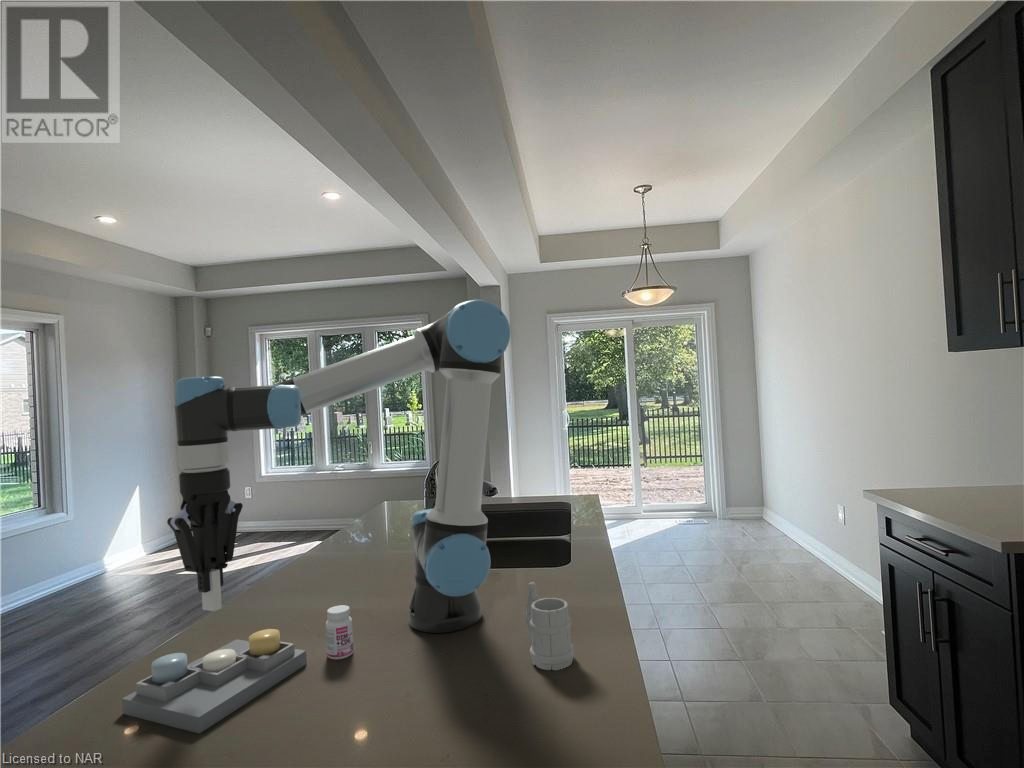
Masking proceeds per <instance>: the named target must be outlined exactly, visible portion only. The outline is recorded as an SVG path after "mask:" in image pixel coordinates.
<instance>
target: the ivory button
mask: <svg viewBox="0 0 1024 768" xmlns="http://www.w3.org/2000/svg"><path fill="white" fill-rule="evenodd" d="M213 651H214V652H213ZM213 651H211V652H209V653H206V654H205V655H206V656H205V655H204V658H203V669H204V670H205V671H210V672H215V673H218V672H220V671H222V670H224V669H225V668H227V667H229V666H231V665H233V664H234V663H236V652H235V650H233V649H222V650H218V651H215V650H213Z"/></svg>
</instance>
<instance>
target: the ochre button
mask: <svg viewBox="0 0 1024 768" xmlns="http://www.w3.org/2000/svg"><path fill="white" fill-rule="evenodd" d="M280 634H281V633H280V629H276V628H265V629H262V630H258V631H256V632H253V633H252V634H250V635H249V636H248V641H249V653H250V654H252V655H264V654H269V653H271V652H274V651H276V650H277V649H279V647H280V642H281V635H280Z"/></svg>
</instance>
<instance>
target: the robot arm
mask: <svg viewBox="0 0 1024 768" xmlns="http://www.w3.org/2000/svg"><path fill="white" fill-rule="evenodd" d="M510 339H511V327H510V323H509V320H508V318H507V316H506V315H505V313H504V312H503V310H501V308H500V307H498V306H497V305H495V304H494V303H492V302H490V301H487V300H483V299H472V300H465V301H463V302H460V303H458V304H457V305H455V306H454V307H453V308H452V309H451V310H450V311H448V312H447V313H446V314H444V315H443V316H442V317H440V318H438V319H437V320H435V321H433V322H432V323H429V324H427V325H425V326H422V327H420V328H417V329H416V330H415V332H414V334H413V335H412V336H408V337H406V338H403V339H400V340H398V341H397V340H396V341H394V342H391V343H389V344H385V345H384V346H383V345H382V346H381V347H378V348H374V349H372V350H369V351H365V352H363V353H360V354H357V355H355V356H351V357H349V358H346V359H343V360H341V361H338V362H335V363H332V364H329V365H326V366H324V367H320V368H317V369H315V370H312V371H309V372H307V373H305V374H304V373H303V374H301V375H298V376H295V377H292V378H289V379H286V380H283V381H280V382H278V383H275V384H270V385H268V384H267V385H253V386H241V387H231V386H227V385H226V384H225V383H226V382H225V379H224V377H222V376H193V377H182V378H180V379H178V380H177V381H176V383H175V386H174V387H175V391H174V392H175V399H174V400H175V403H174V406H173V407H174V409H175V410H174V411H175V412H174V413H175V420H176V421H175V423H176V435H177V456H178V457H177V458H178V468H179V470H181V472H180V474H179V475H178V479H179V480H178V481H179V492H180V495H181V497H182V502H181V504H180V511H179V512H178V513H177V514H176V515H175V516H174V517H173V516H172V517H169V518H167V521H166V524H167V525H168V526H169V528H170V529H171V530H172V531H173V533H174V537H175V539H176V544H177V546H178V551H179V553H180V554H179V555H180V558H181V560H182V564H183V569H184V570H185V571H186V572H189V573H195V574H196V575H197V589H198V592H199V593H201V603H202V611H209V612H216V611H218V610H220V609H222V608H223V607H222V589H221V588H222V586H224V572H223V571H224V569H226V568H227V567H228V565H229V564H228V562H231V561H232V560H233V558H234V553H235V552H234V551H235V545H236V537H237V529H238V522H239V516H240V514H241V512H242V509H243V507H244V506H243V503H241V502H236V501H234V500H232V499H231V495H230V494H229V491H228V490H229V489H230V488H231V476H230V474H231V473H230V469H229V468H228V467H227V465H229V464H230V455H229V440H228V439H229V438H228V432H237V431H255V430H256V431H258V430H261V431H262V430H272V429H273V430H275V429H277V430H283V429H286V428H294V427H298V426H299V425H300V424H301V423H302V422H301V421H302V417H303V416H305V415H308V414H310V413H312V412H316V411H318V410H322V409H323V408H325V407H330V406H332V405H335V404H337V403H340V402H342V401H345V400H347V399H350V398H353V397H357V396H359V395H362V394H364V393H367V392H370V391H373V390H375V389H378V388H381V387H384V386H386V385H388V384H391V383H394V382H397V381H400V380H403V379H406V378H409V377H411V376H414V375H416V374H419V373H423V372H425V371H427V372H430V373H432V374H433V373H436V372H440V373H441V374H442V375H443V377H444V379H445V380H446V381H445V382H446V383H445V391H444V405H443V415H442V427H441V438H440V449H439V459H438V471H437V472H438V473H437V481H436V482H437V483H436V494H435V505H434V507H433V508H428V509H422V510H417V511H416V512H414V513H413V514H412V517H411V519H412V520H411V522H412V523H411V529H412V539H413V540H412V543H413V561H414V579H415V580H414V582H415V584H414V590H413V592H412V597H411V601H410V604H409V608H408V623H409V625H410V627H411V628H412V629H414V630H416V631H419V632H424V633H430V634H431V633H433V634H435V633H436V634H437V633H438V634H439V633H443V634H444V633H450V632H451V633H452V632H457V631H460V630H464V629H467V628H469V627H471V626H473V625H475V624H476V623H478V622H479V621H480V619H481V618H482V605H481V600H480V599H479V595H478V593H477V591H476V590H478V589H479V588H480V587H481V586H482V585H483V584H484V583H485V582H486V580H487V578H488V576H489V573H490V571H491V570H490V569H491V565H492V564H491V559H492V558H491V554H490V551H489V548H488V546H487V535H488V522H489V519H488V517H487V516H486V515H485V513H484V512H483V511H482V498H483V487H484V475H485V466H486V465H485V464H486V454H487V442H488V441H487V439H488V429H489V420H490V419H489V418H490V407H491V394H492V386H493V385H492V384H493V383H494V381H496V380H497V379H498V378H500V377H501V370H502V360H503V354H504V353H505V352H506V350H507V348H508V346H509V343H510Z"/></svg>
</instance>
